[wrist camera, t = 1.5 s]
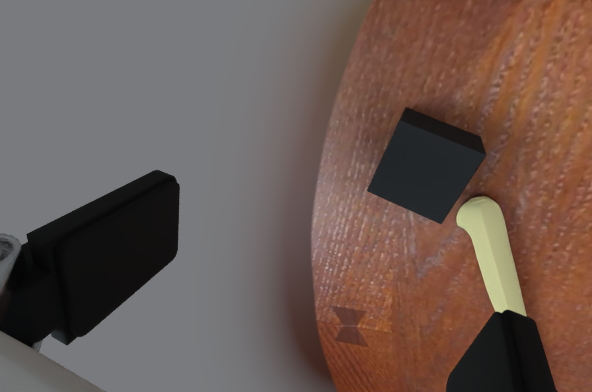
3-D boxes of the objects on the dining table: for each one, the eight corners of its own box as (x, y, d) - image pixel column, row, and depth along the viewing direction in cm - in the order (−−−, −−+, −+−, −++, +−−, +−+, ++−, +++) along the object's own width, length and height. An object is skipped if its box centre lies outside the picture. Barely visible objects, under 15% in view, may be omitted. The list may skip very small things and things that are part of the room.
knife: (523, 505, 34) (583, 523, 31) (423, 209, 24) (497, 198, 22) (523, 490, 35) (581, 506, 32) (426, 200, 25) (497, 189, 23)
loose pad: (375, 171, 25) (366, 191, 22) (405, 107, 23) (400, 120, 20) (441, 200, 24) (441, 224, 21) (481, 136, 22) (486, 154, 19)
